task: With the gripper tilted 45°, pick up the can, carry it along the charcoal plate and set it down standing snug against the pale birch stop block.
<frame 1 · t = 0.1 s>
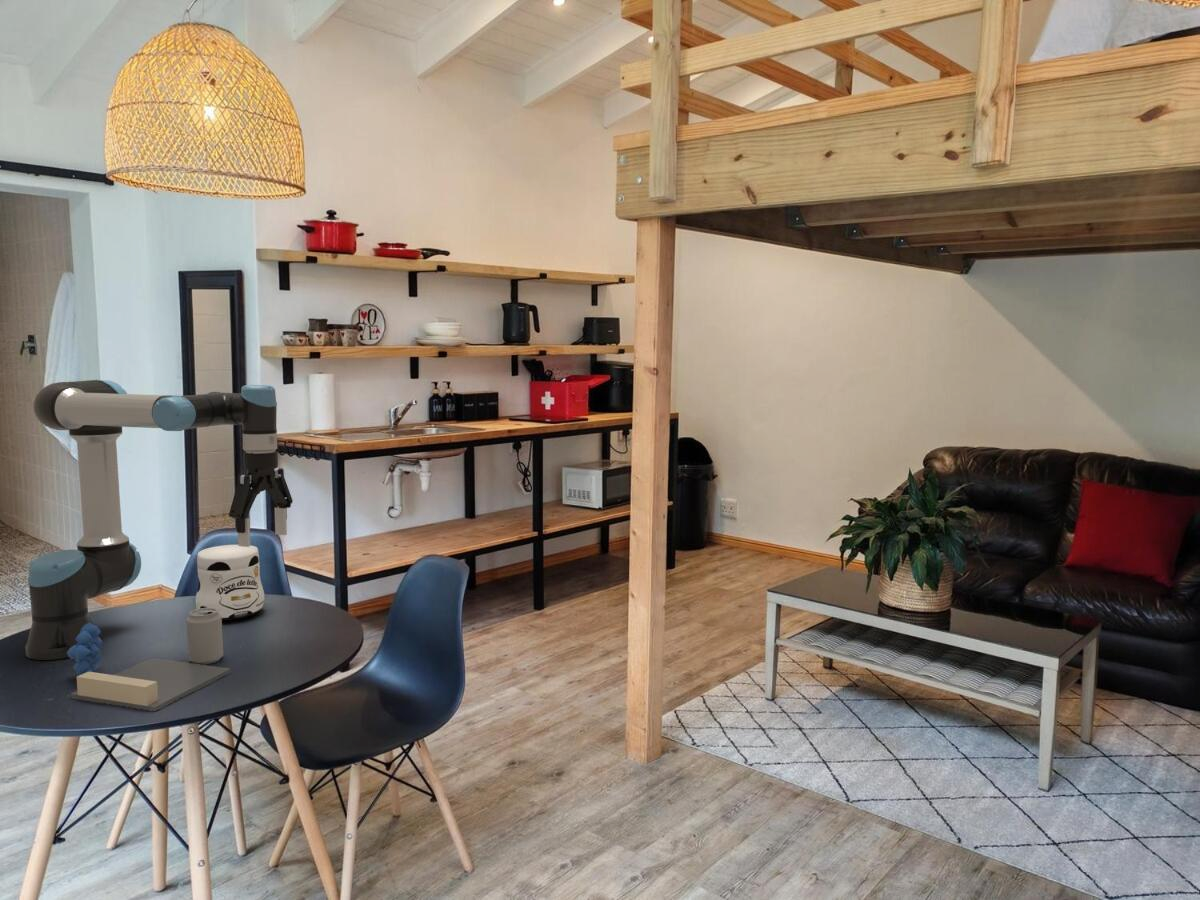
hand: (263, 540, 208), 28 cm above the table, tool pointing down, fingers open, 13 cm apart
stop plate: (153, 685, 192), on the table
milk container: (231, 615, 241), on the table
grapes: (85, 678, 197), on the table
can: (206, 660, 207), on the table
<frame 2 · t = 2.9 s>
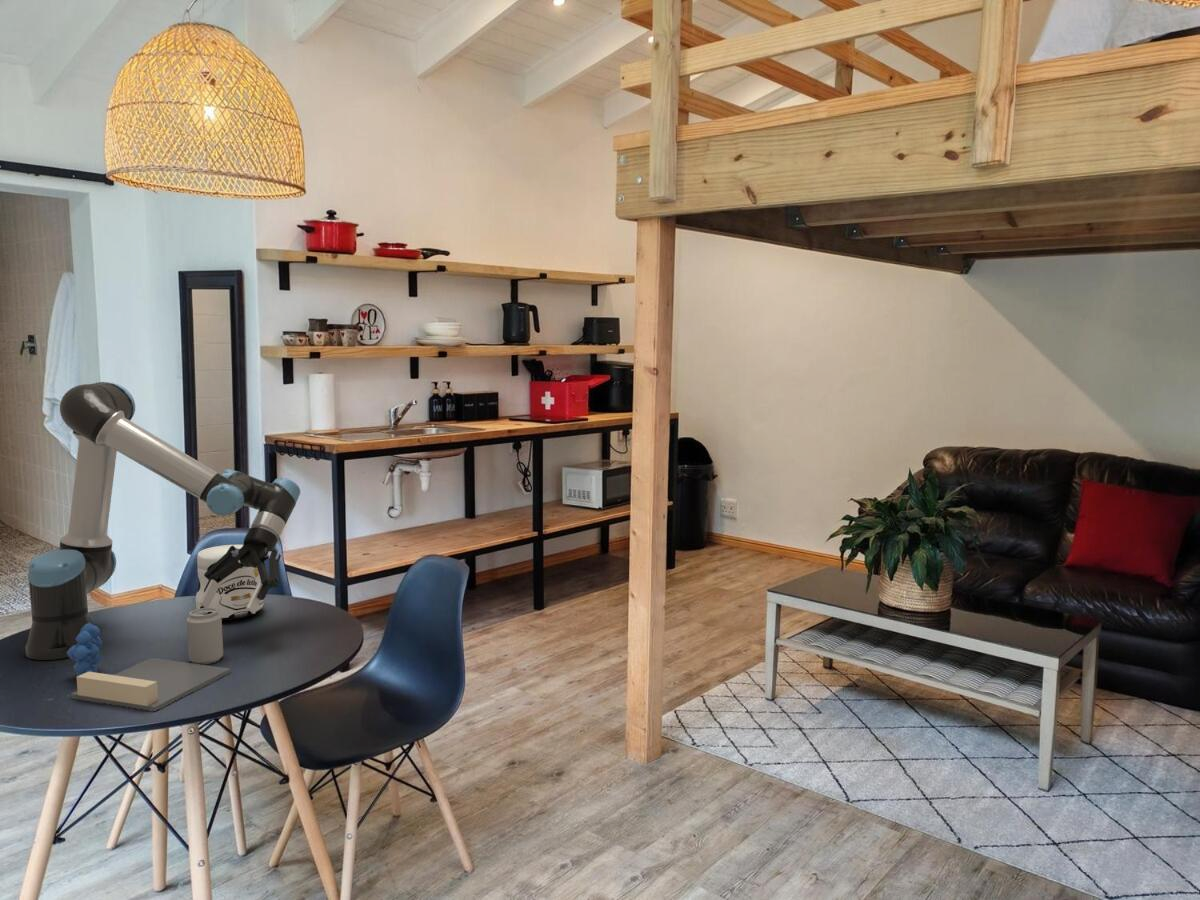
hand: (226, 608, 212), 11 cm above the table, tool tilted 45°, fingers open, 13 cm apart
nothing on the table moved.
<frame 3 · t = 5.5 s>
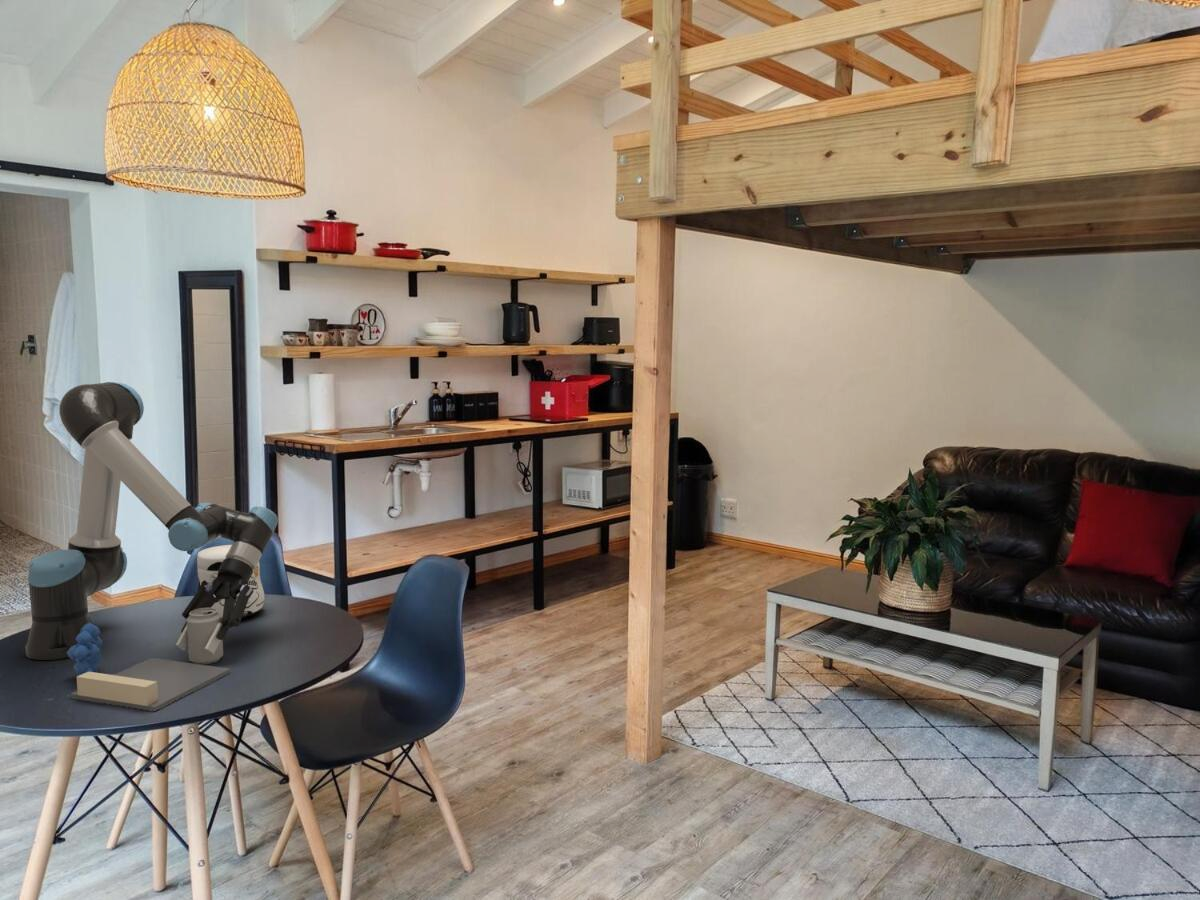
hand: (194, 649, 204), 4 cm above the table, tool tilted 45°, fingers closed on can, 7 cm apart
can: (206, 660, 207), on the table, touching gripper
everything else where it was.
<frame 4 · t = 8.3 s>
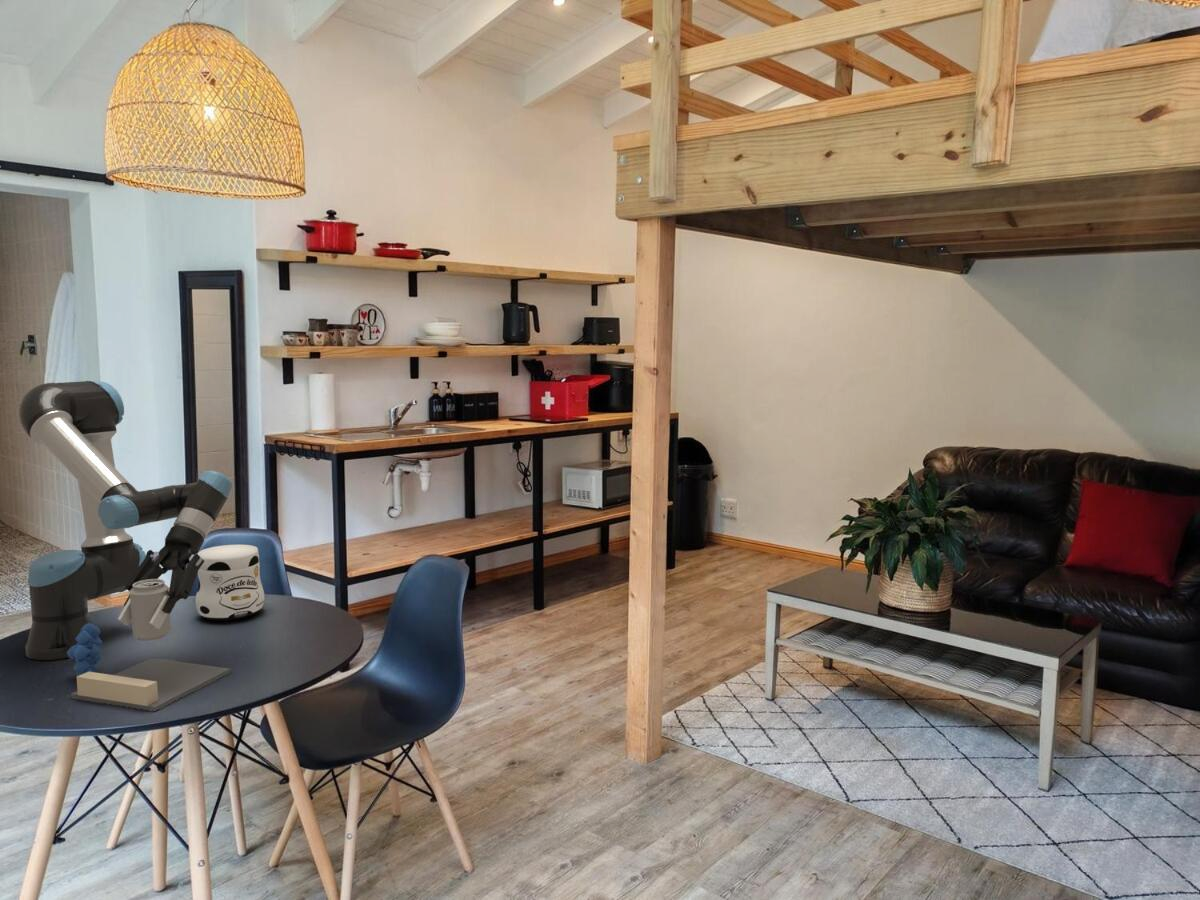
hand: (138, 624, 186), 15 cm above the table, tool tilted 45°, fingers closed on can, 7 cm apart
can: (152, 636, 190), point 11 cm above the table, touching gripper
everything else where it was.
when the fingers open (6 cm above the table, at t = 11.2 s): can drops 1 cm, resting on stop plate.
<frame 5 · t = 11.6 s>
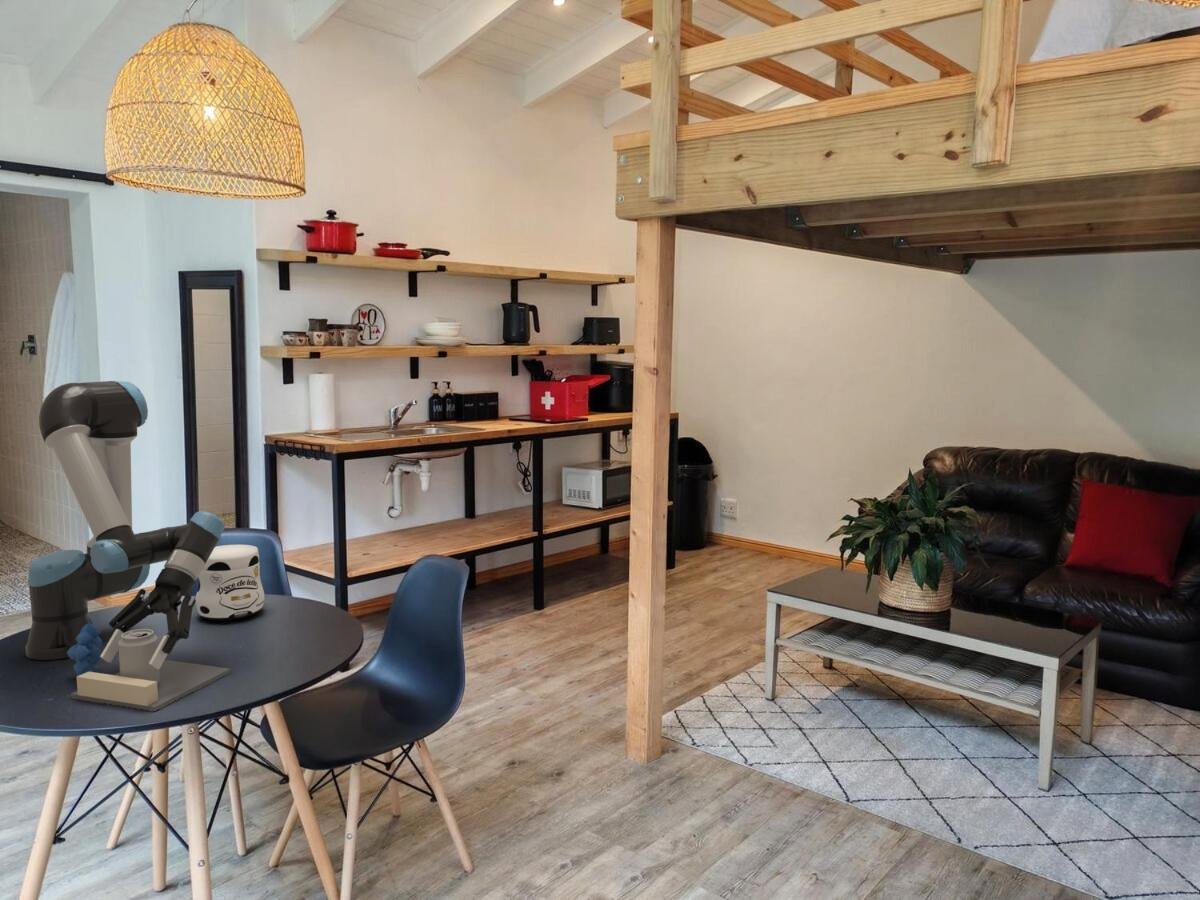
hand: (129, 663, 186), 7 cm above the table, tool tilted 45°, fingers open, 12 cm apart
can: (140, 687, 189), point 1 cm above the table, touching stop plate
everything else where it was.
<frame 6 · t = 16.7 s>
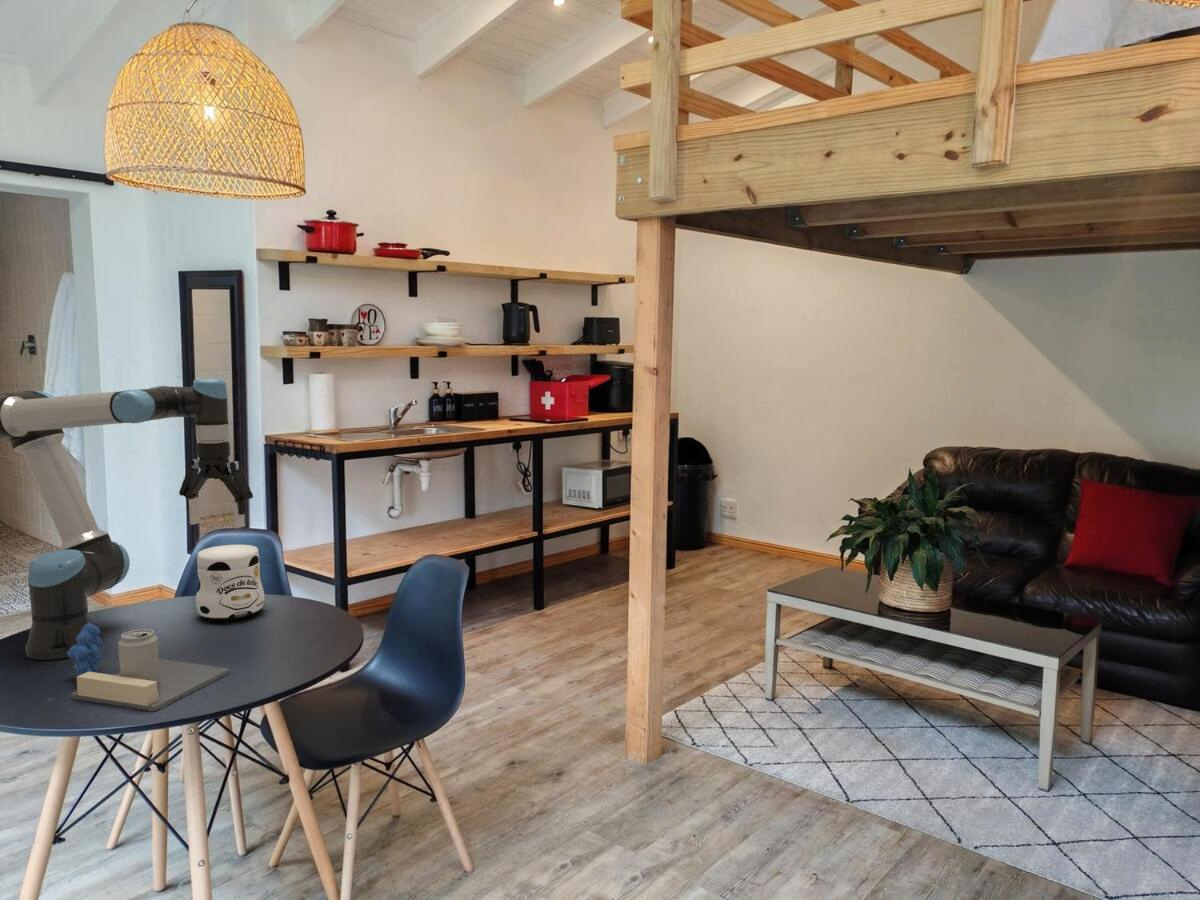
hand: (217, 525, 220), 29 cm above the table, tool pointing down, fingers open, 13 cm apart
nothing on the table moved.
at the end: can inside the target area (0.1 cm from its centre), point 0.8 cm above the table; can tilted 0°; the gripper is holding nothing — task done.
